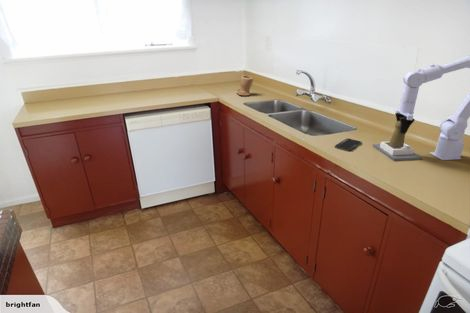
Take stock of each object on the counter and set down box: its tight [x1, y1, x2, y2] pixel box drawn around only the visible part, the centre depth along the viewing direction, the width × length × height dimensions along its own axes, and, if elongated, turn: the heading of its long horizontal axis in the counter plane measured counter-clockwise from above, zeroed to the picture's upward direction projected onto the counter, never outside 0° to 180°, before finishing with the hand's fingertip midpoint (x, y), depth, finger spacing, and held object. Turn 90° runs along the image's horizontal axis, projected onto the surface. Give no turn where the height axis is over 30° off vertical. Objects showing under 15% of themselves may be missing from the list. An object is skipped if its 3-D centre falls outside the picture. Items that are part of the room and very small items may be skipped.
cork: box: [388, 120, 406, 147], centre depth 139 cm, size 6×6×11 cm
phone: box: [334, 138, 363, 152], centre depth 150 cm, size 8×1×15 cm
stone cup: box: [235, 75, 254, 97], centre depth 249 cm, size 15×12×15 cm
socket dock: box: [372, 140, 422, 162], centre depth 142 cm, size 13×17×4 cm
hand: (401, 131), depth 138 cm, fingers closed on cork, 5 cm apart
